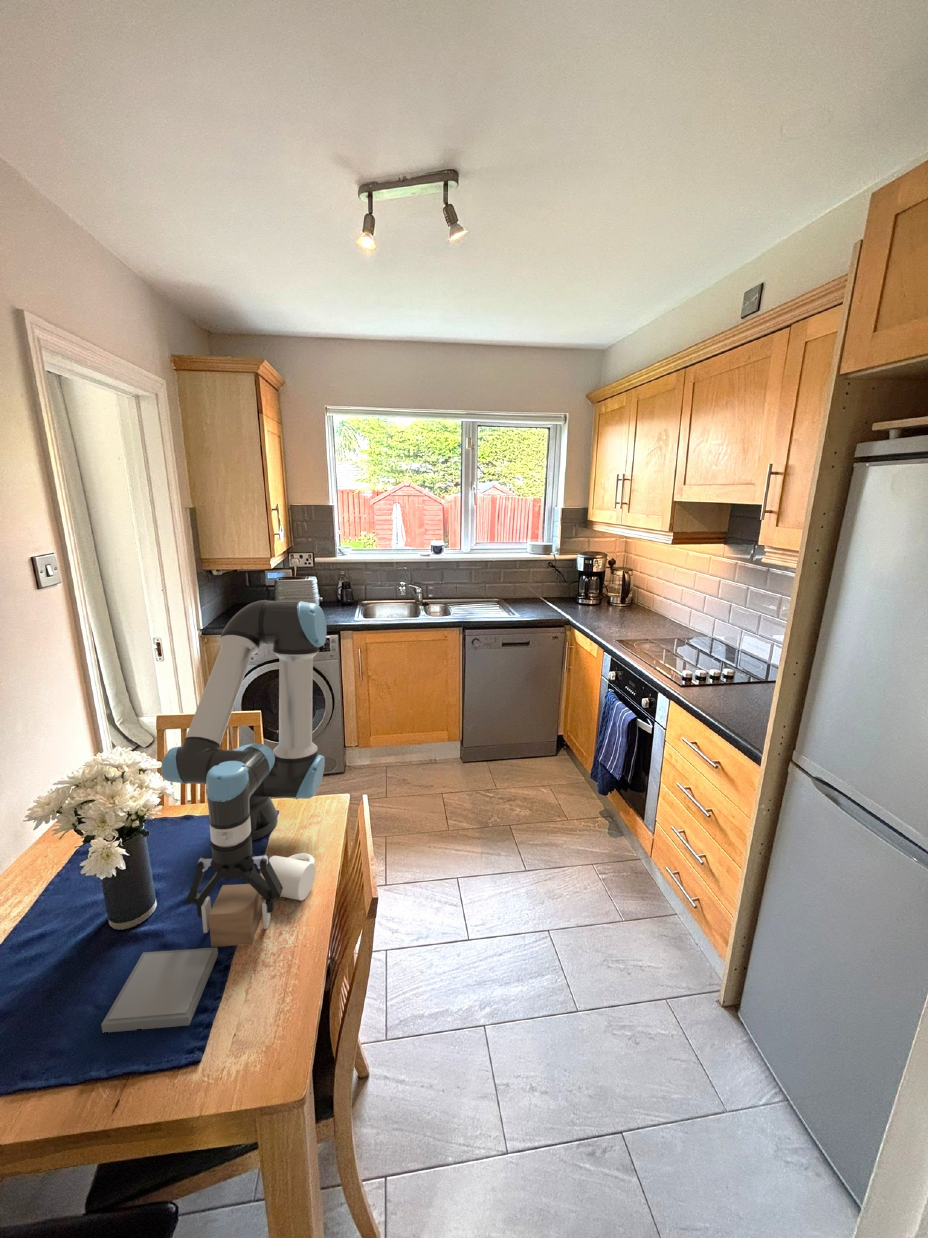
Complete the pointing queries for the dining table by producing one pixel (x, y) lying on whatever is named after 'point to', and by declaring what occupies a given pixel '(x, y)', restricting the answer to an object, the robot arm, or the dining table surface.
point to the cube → (235, 915)
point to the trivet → (161, 990)
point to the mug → (294, 874)
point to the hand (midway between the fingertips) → (237, 925)
